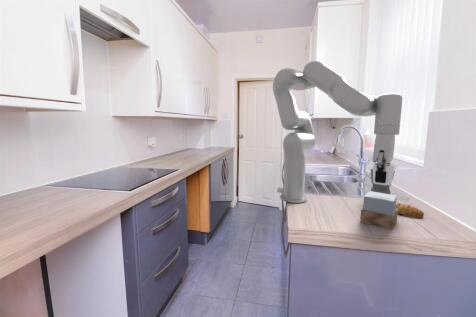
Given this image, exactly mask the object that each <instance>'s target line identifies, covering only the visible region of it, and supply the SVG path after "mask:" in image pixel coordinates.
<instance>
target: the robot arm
mask: <svg viewBox="0 0 476 317" xmlns="http://www.w3.org/2000/svg"><path fill="white" fill-rule="evenodd" d="M272 82H273V83H272V92H273V95H274V99H275V102H276V105H277V110H278V114H279V115H278V116H279V119H280V123H281V126H282V128H283V129H284V130H286V131H294V132H290V133H288V134H286V136H284V138H283V141H282V147H283V148H282V149H283V153H284V154H283V156H284V159H283V160H284V163H283V164H284V168H283V169H284V170H283V171H284V172H283V188H282V187H277V189H276V192H277V193H280V195H279V198H280V200H282V201H283V202H287V203H293V204H302V203H305V202H307V201H308V197H307V196H306V195H305V181H306V180H305V178H306V157H305V152H306V153H307V152H309V151H312V150H313V149H314V147H315V145H316V135H315V131H314V126H313V124H312V120H311V117H310V115H309V114H308V112H306V111H304V110H301V109H298V106H297V102H296V99H295V96H294V94H293V93H292V91H291V90H293V91H304V90H308V89H309V90H310V89H312V88H317V89H319V91H321V92H323V93H324V94H326V95H327V96H328V98H330V99H331V101H332V102H334V103H335V104H337V105H338V106H339V107H340V108H342V109H343V110H344V111H346V112H348V113H349V114H351V115H353V116H355V117H356V116H358V117H359V116H360V117H372V116H374V126H373V127H374V128H373V135H375V140H374V144H373V152H372V162H373V163H377V166H376V173H375V182H378V183H386V173H387V172H385V171H386V165H387V163H388V164H391V163H392V161H393V160H394V152H395V145H396V144H395V143H396V136H398V135H400V129H401V121H402V120H401V116H402V107H403V96H402V94H400V93H397V92H396V93H395V92H391V93H389V92H388V93H381V94H380V95H379V94H378V96H375V95H369V94H366V93H362V92H361V91H360V90H358V89H356V88H355V87H353V86H352V85H350V84H349V83H347V82H346V80H345V77H344V76H343V75H341V74H339V73H338V72H336V71H335V70H332V68H331V66H329V65H328V64H326V63H323V62H320V61H317V60H313V61H309V62H308V63H307V64H305V66H304V68H303V71H300V70H298V69H297V70H296V69H293V68H290V67H289V68H288V67H287V68H286V67H285V68H282V69H281V70H279V71H278V72H277V73H276V74H275V75H274V78H273V81H272Z"/></svg>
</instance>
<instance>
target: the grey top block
mask: <svg viewBox="0 0 476 317" xmlns="http://www.w3.org/2000/svg"><path fill="white" fill-rule="evenodd" d="M397 197H398V195H396V194H385V193H378V192H372V191H371V190H369V191H368V192H367V193H366V194H364V196H363V205H362V208H363V210H367V211H372V212H377V213H381V214H386V215H391V216H392V215H393V213H394V211H395V209H396V204H397V200H398V199H397Z"/></svg>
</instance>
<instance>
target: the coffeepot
mask: <svg viewBox="0 0 476 317" xmlns="http://www.w3.org/2000/svg"><path fill="white" fill-rule="evenodd" d="M395 173H396V171H395V170H394V174H393V177H394V175H395ZM370 180H371V184H372V186H371V187H370V191H372V192H378V193H385V194H391V189H390V187H391V186H392V184H391V185H379V184H375V183H373V168H370ZM393 180H394V178H393V179H392V181H393ZM391 195H392V194H391Z"/></svg>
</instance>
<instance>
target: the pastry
mask: <svg viewBox="0 0 476 317" xmlns="http://www.w3.org/2000/svg"><path fill="white" fill-rule="evenodd" d="M396 208H397V209H398V215H400V214H401V215H402V216H405V217H410V218H420V219H421V218H423V217H424V215H425V213H424V212H423V211H422V210H421V209H418V208H417V207H414V206H412V205H410V204H405V203H400V202H396Z"/></svg>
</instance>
